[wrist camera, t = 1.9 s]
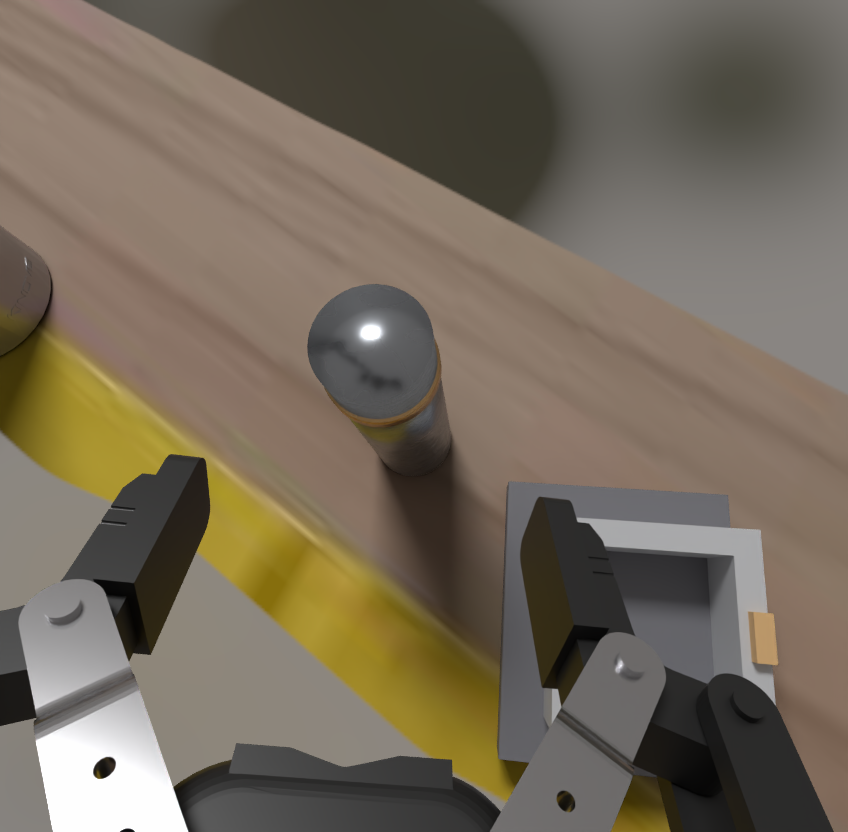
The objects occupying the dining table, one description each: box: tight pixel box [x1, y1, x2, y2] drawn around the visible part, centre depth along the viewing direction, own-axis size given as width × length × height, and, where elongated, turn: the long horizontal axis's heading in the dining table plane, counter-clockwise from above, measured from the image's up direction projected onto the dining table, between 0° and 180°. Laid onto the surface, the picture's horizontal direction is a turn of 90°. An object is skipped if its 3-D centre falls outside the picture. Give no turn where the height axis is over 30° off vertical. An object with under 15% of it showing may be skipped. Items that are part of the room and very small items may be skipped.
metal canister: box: [307, 284, 451, 476], centre depth 26 cm, size 5×5×14 cm
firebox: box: [497, 482, 778, 777], centre depth 26 cm, size 11×13×6 cm
